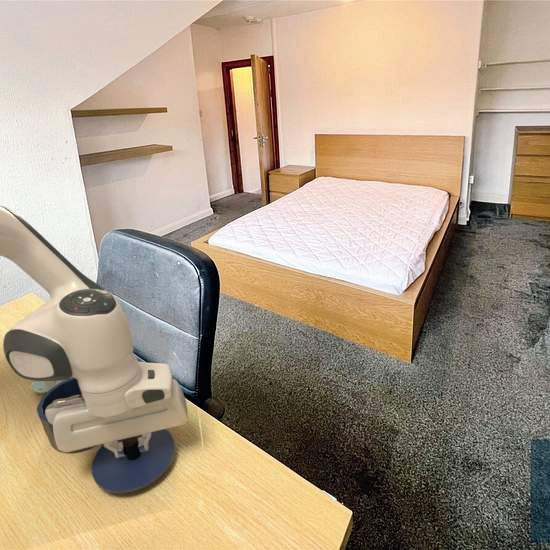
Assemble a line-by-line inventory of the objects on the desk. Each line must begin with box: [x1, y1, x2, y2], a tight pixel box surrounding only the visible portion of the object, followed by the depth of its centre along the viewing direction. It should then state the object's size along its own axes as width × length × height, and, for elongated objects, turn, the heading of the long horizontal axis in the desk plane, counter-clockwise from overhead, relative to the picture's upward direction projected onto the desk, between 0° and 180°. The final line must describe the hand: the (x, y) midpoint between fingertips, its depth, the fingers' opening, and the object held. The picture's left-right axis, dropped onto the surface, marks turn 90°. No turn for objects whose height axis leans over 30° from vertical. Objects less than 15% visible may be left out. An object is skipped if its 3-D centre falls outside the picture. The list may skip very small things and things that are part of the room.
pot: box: [36, 377, 98, 454], centre depth 77 cm, size 13×13×8 cm
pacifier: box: [30, 380, 65, 394], centre depth 89 cm, size 7×6×6 cm
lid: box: [91, 429, 176, 494], centre depth 69 cm, size 14×14×5 cm
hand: (133, 451), depth 69 cm, fingers closed on lid, 2 cm apart
